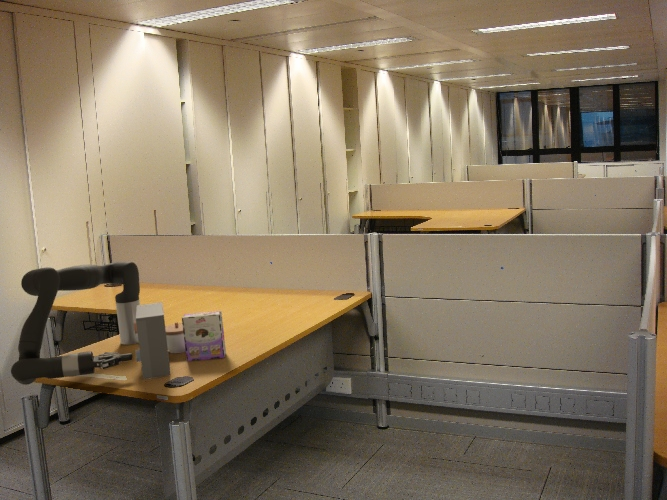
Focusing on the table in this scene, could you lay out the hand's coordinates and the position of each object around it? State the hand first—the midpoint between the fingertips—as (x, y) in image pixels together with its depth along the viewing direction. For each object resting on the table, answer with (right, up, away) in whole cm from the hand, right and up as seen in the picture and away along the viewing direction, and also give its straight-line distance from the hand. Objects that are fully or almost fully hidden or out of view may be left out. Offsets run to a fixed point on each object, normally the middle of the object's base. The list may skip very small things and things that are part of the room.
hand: (132, 356), depth 225 cm
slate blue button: (+4, -2, +1) cm, 5 cm away
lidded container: (+9, -3, +29) cm, 31 cm away
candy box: (+22, -3, +17) cm, 28 cm away
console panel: (+6, -5, +9) cm, 12 cm away
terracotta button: (+1, +7, +12) cm, 14 cm away
